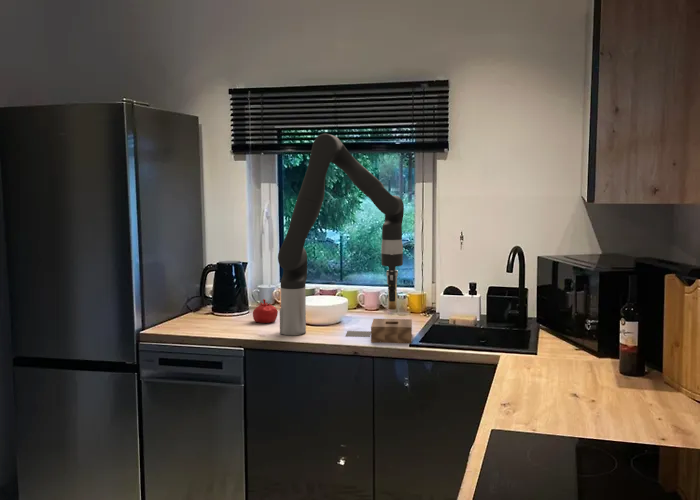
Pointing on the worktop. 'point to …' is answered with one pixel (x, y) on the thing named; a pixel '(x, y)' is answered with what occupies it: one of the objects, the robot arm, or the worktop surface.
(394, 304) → the peg
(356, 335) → the mat
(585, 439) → the worktop surface
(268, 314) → the pomegranate
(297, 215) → the robot arm
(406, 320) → the hole block
